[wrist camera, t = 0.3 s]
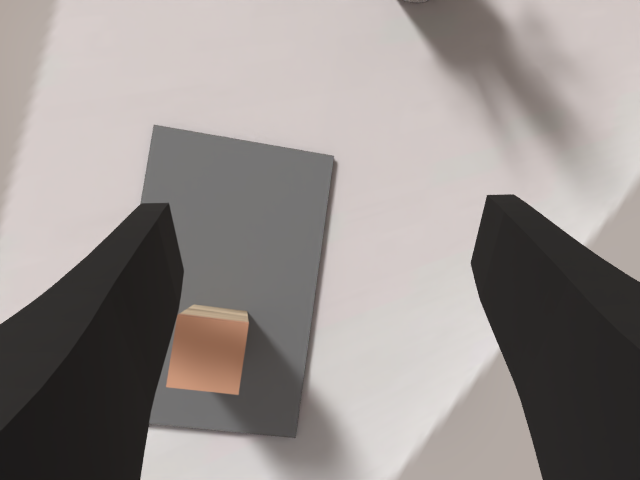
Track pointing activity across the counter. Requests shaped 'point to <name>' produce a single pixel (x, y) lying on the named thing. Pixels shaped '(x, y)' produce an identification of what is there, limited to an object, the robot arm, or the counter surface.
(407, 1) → the house plant
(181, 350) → the long block
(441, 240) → the counter surface
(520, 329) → the robot arm
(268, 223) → the rubber mat
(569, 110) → the counter surface
